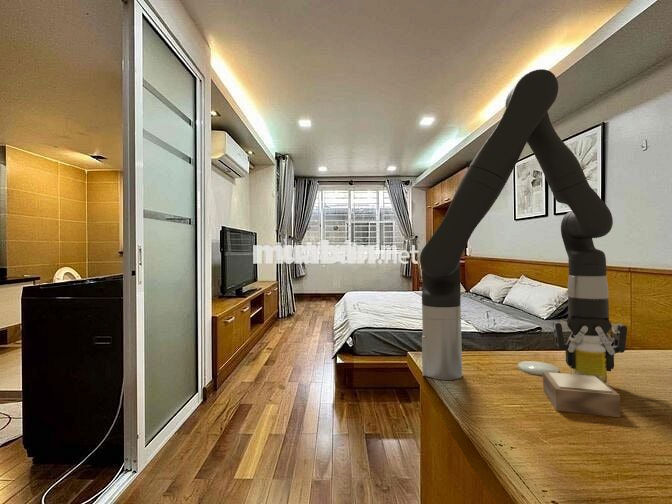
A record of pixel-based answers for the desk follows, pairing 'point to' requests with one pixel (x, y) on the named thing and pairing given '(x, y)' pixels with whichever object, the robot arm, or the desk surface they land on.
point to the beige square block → (581, 394)
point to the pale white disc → (537, 367)
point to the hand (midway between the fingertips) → (589, 368)
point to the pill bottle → (590, 358)
